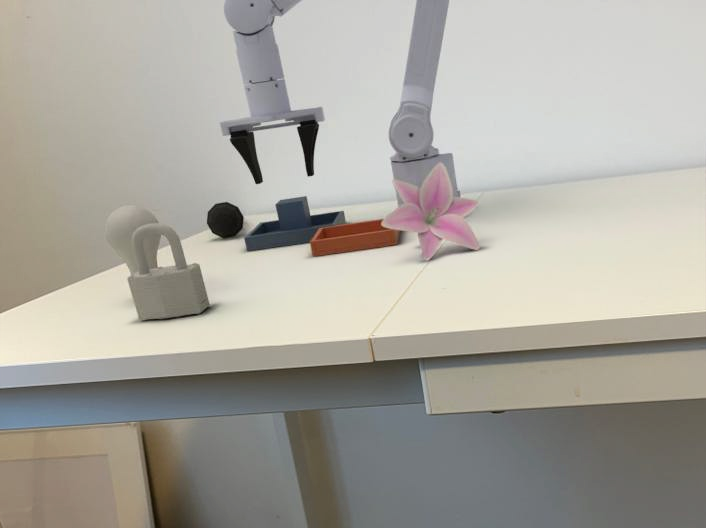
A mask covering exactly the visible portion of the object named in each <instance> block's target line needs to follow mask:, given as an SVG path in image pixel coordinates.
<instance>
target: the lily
mask: <svg viewBox="0 0 706 528" xmlns="http://www.w3.org/2000/svg"><path fill="white" fill-rule="evenodd" d="M391 181H392V185H393V187H394V189H395V188H396V190H397V192H398V194H399V195H400V197H401V199H402V200H403V202H404V203H405V204H402V205H401V206H399V207H398V206H397V207H396V208H395V209H393V210H392V211H391V212H390V213H388V215H386V216H385V217H384V218H383V219H384V220H383V221H382V223H381V225H382V226H383V227H386V228H389V229H396V230H400V231H403V232H411V233H415V234H416V233H417V238H418V243H419V247H420V249H421V253H422V256H423V259H424V260H425V261H426V262H428V261H430V260H431V258H432V257H434V255H435V254H436V252H437V250H439V248H440V245H441V244H442V242H443V240H445V241H446V242H447V241H448V242H451V243H454V244H457V245H459V246H462V247H465V248H468V249H471V250H475V251H479V250H480V248H481V247H480V243H479V241H478V238H477V236H476V234H475V232H474V231H473V229H472V227H471V226H470V225H469V222H467V221H466V220H465V217H466V216H468V215H469V214H470V213H472V212H473V211H474V210H476V209H477V207H478V206H480V205H479V204H480V202H479V201H477V200H475V199H472V198H468V197H462V196H461V197H453V189H452V185H451V181H450V178H449V175H448V172H447V169H446V167H445V166H444V164H443V163H438V164H437V165H436V166H435V167H434V168H433V169H432V170H431V172H430V173H429V175H428V176H427V178H426V179H425V181H424V182H423V184H422V186H421V189H420V188H418V187H416V186H414V185H412V184H409V183H406V182H403V181H400V180H394V179H392V180H391ZM396 190H395V191H396Z"/></svg>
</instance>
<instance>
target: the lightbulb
mask: <svg viewBox="0 0 706 528" xmlns="http://www.w3.org/2000/svg"><path fill="white" fill-rule="evenodd" d="M152 223H159V224H160V222H159V220H158V219H157V217H156V216H155V214H154V213H153V212H152V211H150V210H148V209H147V208H145V207H142V206H140V205H139V206H138V205H133V204H132V205H131V204H128V205H124V206H123V205H122V206H120V207H119V208H117V209H115V210H113V212H111V213H110V215H109V216H108V218H107V219H106V222H105V225H104V226H105V227H104V234H105V239H106V241H107V242H108V244H109V246H110V247H111V248H112V250H113V251H114V252H115V253H116V254H117V255H118V256H119V257H120V258H121V259H122V261H123V262H124V263H125V265H126V267H127V268H128V269H129V270H128V271H129V273H130V275H133V274H134V273H136V272H138V267H137V264H136V260H135V257H134V254H133V250H132V244H131V239H132V235H133V233H134V232H135V231H136V229H137V228H139V227H141V226H143V225H146V224H152ZM161 237H162V235H161V234H150V235H147V236H145V237H144V238H143V249H144V252H145V256H146V259H147V263H148V266H149V269H155V268H158V267H159V265H158V249H159V247H160V243H161V239H162V238H161Z"/></svg>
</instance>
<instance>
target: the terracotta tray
mask: <svg viewBox="0 0 706 528" xmlns="http://www.w3.org/2000/svg"><path fill="white" fill-rule="evenodd" d="M383 220H384V218H380V219H379V218H378V219H374V220H373V219H371V220H365V221H359V222H352V223H350V222H349V223H346V224H343V225H336V226H329V227H324V228H323V227H322V228H319V229H318V231H317V232H316V234H315V235H314V237H313V238H312V240H311V241H310V242H309V245H310V249H311V254H312V257H320V256H327V255H333V254H340V253H349V252H354V251H361V250H369V249H376V248H382V247H389V246H396V245H398V240H399V236H400V231H401V230H396V229H389V228H386V227H383V226H382V225H381V223H382V221H383Z"/></svg>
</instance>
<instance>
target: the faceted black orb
mask: <svg viewBox="0 0 706 528" xmlns="http://www.w3.org/2000/svg"><path fill="white" fill-rule="evenodd" d="M241 211H242V210H240V208H239V206H237V205H234V204H233V203H231V202H229V201H224V202H217V203H214V205H213V206H212V207H211V208H209V210H208V211H207V216H206V225H207V226H208V228H209V229H210V231H211V233H212V234H213V235H216V236H218V237H219V238H222V239H228V238H234V237H236V236H237V235H238V234H239V233H240V232H241V231H242V230H243V228H244V219H245V217H244V214H243V213H242V212H241Z"/></svg>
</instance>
